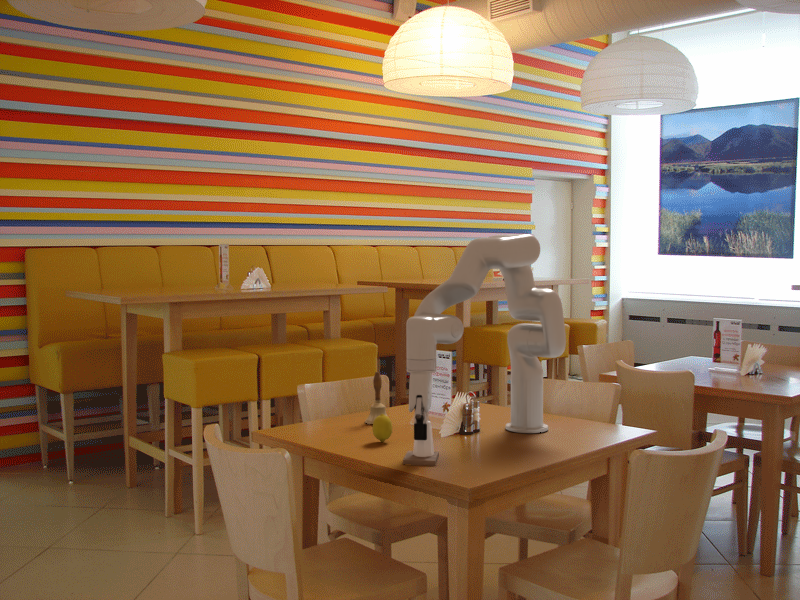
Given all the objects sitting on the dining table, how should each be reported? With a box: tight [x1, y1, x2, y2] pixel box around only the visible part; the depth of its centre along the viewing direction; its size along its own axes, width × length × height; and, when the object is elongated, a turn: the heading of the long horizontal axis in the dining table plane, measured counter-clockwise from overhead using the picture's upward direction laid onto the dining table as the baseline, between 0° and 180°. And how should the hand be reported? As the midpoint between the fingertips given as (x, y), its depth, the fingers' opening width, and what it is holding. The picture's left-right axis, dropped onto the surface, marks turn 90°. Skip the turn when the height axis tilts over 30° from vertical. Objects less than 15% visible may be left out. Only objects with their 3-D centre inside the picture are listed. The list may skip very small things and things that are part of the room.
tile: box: [402, 450, 440, 467], centre depth 193 cm, size 2×8×10 cm
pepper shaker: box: [412, 411, 435, 457], centre depth 193 cm, size 5×5×11 cm
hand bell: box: [364, 371, 389, 425], centre depth 240 cm, size 8×8×16 cm
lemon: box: [372, 414, 393, 443], centre depth 212 cm, size 6×6×8 cm
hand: (421, 436), depth 193 cm, fingers open, 5 cm apart
